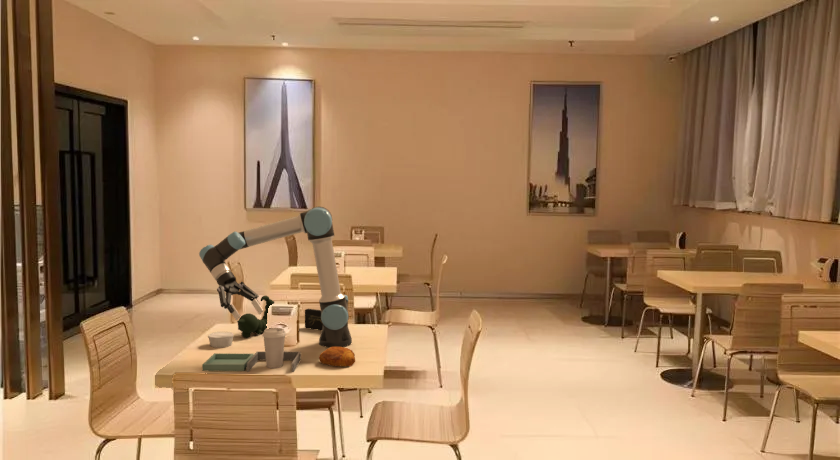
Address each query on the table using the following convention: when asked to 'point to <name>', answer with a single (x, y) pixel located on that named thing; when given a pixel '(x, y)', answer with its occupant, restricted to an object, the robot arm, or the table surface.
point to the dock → (286, 356)
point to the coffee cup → (274, 346)
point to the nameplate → (313, 319)
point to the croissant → (337, 357)
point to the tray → (227, 362)
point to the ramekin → (220, 339)
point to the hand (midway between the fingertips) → (250, 315)
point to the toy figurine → (254, 321)
